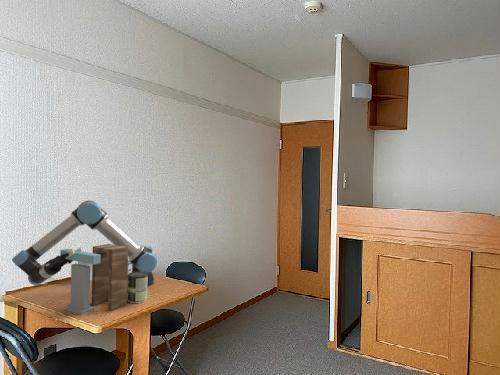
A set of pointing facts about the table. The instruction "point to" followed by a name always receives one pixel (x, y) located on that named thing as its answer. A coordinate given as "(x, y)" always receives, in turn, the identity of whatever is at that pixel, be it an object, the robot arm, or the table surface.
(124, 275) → the walnut wood block
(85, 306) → the pedestal
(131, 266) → the light bulb box
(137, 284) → the coffee can
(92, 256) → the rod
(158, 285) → the table surface
